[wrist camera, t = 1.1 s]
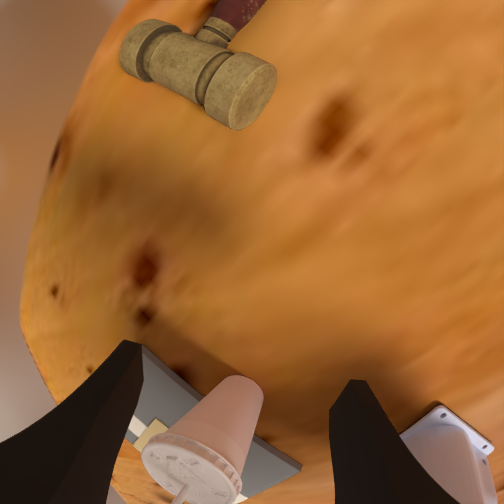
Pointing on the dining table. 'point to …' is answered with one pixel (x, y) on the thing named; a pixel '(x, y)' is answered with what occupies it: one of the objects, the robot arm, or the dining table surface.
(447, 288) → the dining table surface
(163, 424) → the board
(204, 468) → the smoothie
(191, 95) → the gavel
